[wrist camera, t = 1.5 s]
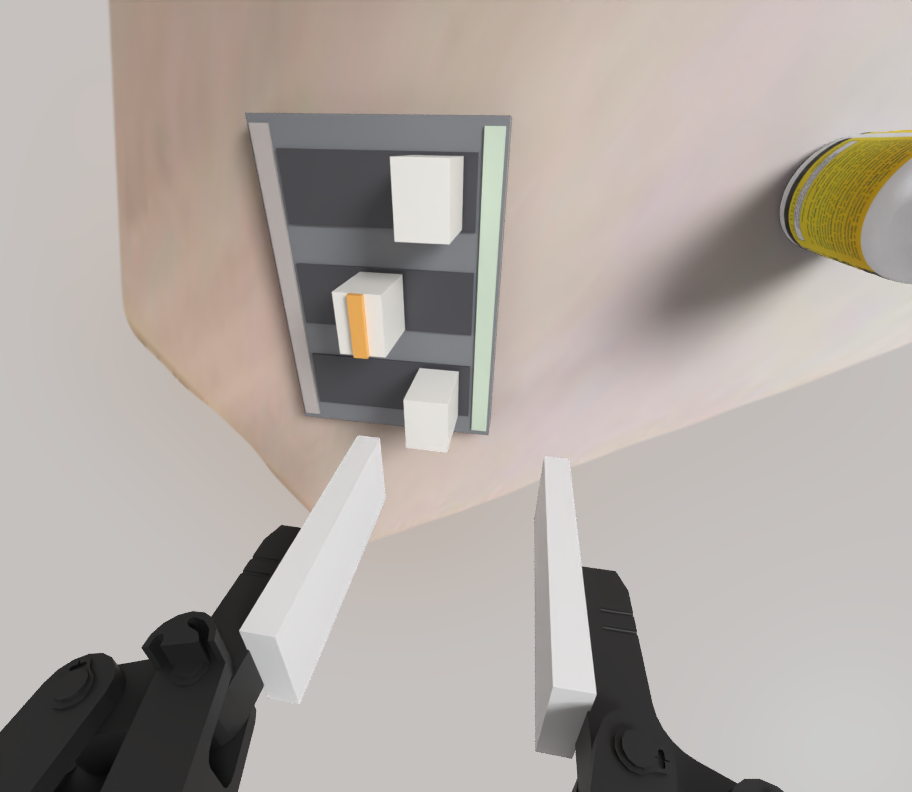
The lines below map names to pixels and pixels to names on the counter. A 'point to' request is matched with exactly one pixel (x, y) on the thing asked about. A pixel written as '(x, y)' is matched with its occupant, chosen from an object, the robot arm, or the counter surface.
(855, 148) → the pill bottle
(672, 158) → the counter surface
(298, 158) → the panel
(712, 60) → the counter surface
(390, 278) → the breaker mid
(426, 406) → the block
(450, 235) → the breaker near
